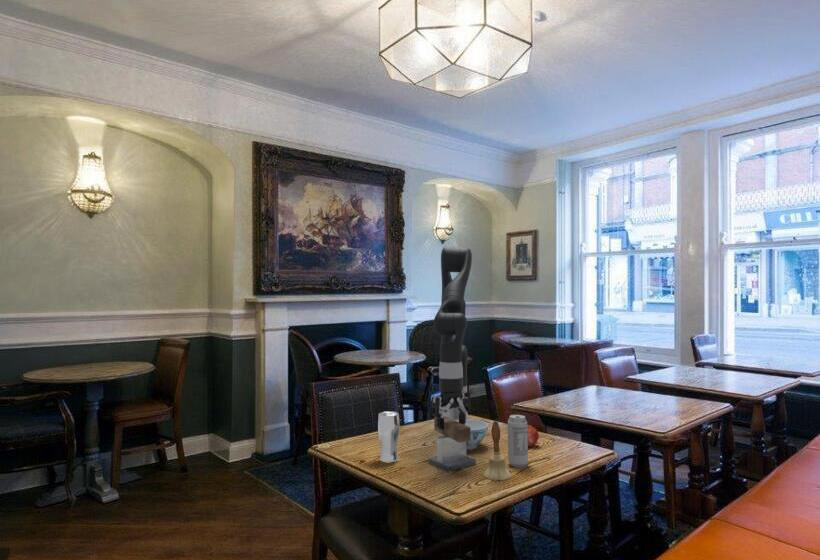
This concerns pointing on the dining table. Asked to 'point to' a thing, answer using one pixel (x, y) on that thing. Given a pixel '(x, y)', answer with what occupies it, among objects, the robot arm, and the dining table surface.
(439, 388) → the robot arm
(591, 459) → the dining table surface
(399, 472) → the dining table surface
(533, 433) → the pomegranate
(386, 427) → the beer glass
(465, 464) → the stand
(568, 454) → the dining table surface
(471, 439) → the chinaware
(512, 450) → the energy drink can
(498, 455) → the hand bell
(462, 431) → the walnut plank
